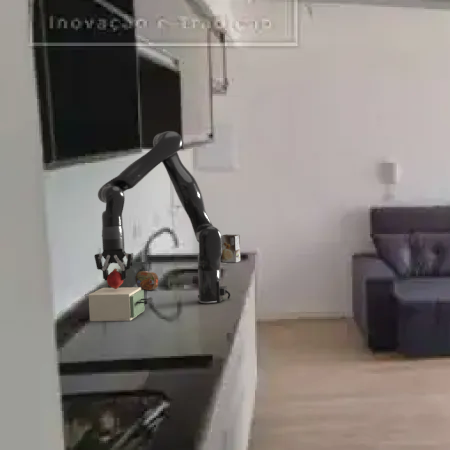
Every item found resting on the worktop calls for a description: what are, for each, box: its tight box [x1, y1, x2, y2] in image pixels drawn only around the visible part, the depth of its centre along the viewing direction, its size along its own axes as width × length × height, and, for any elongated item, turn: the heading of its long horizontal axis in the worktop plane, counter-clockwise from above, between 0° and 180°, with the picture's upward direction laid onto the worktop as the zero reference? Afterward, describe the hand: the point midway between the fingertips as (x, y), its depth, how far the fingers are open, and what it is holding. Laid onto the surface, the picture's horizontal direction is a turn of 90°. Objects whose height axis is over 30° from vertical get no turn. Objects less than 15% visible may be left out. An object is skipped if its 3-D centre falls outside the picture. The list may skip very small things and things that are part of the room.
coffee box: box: [221, 233, 241, 263], centre depth 374 cm, size 9×6×16 cm
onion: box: [106, 268, 125, 289], centre depth 243 cm, size 6×6×8 cm
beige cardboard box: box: [88, 286, 142, 322], centre depth 244 cm, size 15×13×10 cm
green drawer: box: [130, 289, 154, 319], centre depth 245 cm, size 18×12×8 cm, turn 95°
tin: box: [135, 270, 159, 291], centre depth 296 cm, size 15×3×8 cm, turn 56°
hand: (115, 279), depth 243 cm, fingers closed on onion, 5 cm apart
